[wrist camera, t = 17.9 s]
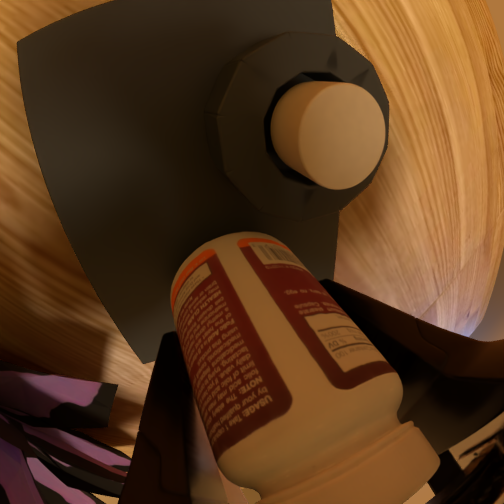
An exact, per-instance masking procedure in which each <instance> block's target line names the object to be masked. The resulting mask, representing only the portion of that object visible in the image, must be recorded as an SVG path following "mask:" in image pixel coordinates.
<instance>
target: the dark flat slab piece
mask: <svg viewBox="0 0 504 504" xmlns="http://www.w3.org/2000/svg"><path fill="white" fill-rule="evenodd" d="M17 53H18V65H19V74H20V81H21V88H22V94H23V100H24V106H25V111H26V115H27V120H28V124H29V129H30V133H31V137H32V141H33V144H34V148H35V151H36V155H37V158H38V162H39V165H40V168H41V171H42V174H43V177H44V180H45V183H46V186H47V189H48V191H49V194H50V197H51V199H52V202H53V204H54V207H55V209H56V212H57V214H58V217H59V219H60V222H61V224H62V226H63V228H64V231H65V233H66V235H67V237H68V239H69V242H70V244H71V246H72V248H73V250H74V252H75V254H76V256H77V258H78V260H79V262H80V264H81V266H82V268H83V270H84V272H85V274H86V275H87V277H88V279H89V281H90V283H91V285H92V286H93V288H94V290H95V292H96V293H97V295H98V297H99V299H100V300H101V302H102V304H103V305H104V307H105V309H106V310H107V312H108V313H109V315H110V317H111V318H112V320H113V321H114V323H115V324H116V326H117V327H118V329H119V330H120V332H121V333H122V335H123V336H124V338H125V339H126V341H127V342H128V344H129V345H130V347H131V348H132V349H133V351H134V352H135V354H136V355H137V356H138V358H139V359H140V360H141V362H142V363H143V364H146V363H149V362H153V361H155V360H156V357H157V353H158V350H159V346H160V343H161V339H162V336H163V334H164V333H167V332H171V331H176V328H175V323H174V318H173V313H172V309H171V301H170V294H171V287H172V283H173V280H174V278H175V276H176V273H177V272H178V270H179V268H180V266H181V265H182V264H183V262H184V261H185V260H186V259H187V258H188V257H189V256H190V255H191V254H192V253H193V252H194V251H195V250H196V249H197V248H199V247H200V246H202V245H203V244H204V243H206V242H209V241H211V240H213V239H216V238H218V237H221V236H224V235H227V234H232V233H239V232H260V233H263V234H267V235H270V236H272V237H274V238H276V239H277V240H279V241H280V242H282V243H283V244H285V245H286V246H287V247H288V248H289V249H290V250H291V251H292V253H293V254H294V255H295V256H296V257H297V258H298V259H299V260H300V262H301V263H302V264H303V265H304V266H305V267H306V268H307V270H308V271H309V272H310V273H311V274H312V275H313V276H314V277H315V278H316V279H317V281H320V280H322V279H325V278H327V279H330V280H332V281H333V278H334V269H335V259H336V249H337V237H338V223H339V211H340V210H342V209H343V208H344V207H345V206H347V205H348V204H349V203H350V202H351V201H352V200H353V199H354V198H355V197H356V196H358V195H359V194H360V193H361V192H362V191H363V190H364V189H365V188H366V187H367V186H369V184H371V182H372V180H373V178H374V176H375V174H376V172H377V170H378V167H379V165H380V163H381V161H382V159H383V156H384V154H385V152H386V150H387V147H388V146H387V145H388V133H389V101H388V99H387V96H386V94H385V91H384V89H383V87H382V84H381V82H380V80H379V77H378V75H377V73H376V71H375V68H374V66H373V65H372V63H371V62H370V61H368V60H367V59H366V58H365V57H364V56H362V55H361V54H360V53H359V52H357V51H356V50H355V49H354V48H352V47H351V46H350V45H348V44H347V43H346V42H345V41H343V40H342V39H340V38H339V37H337V36H336V33H335V24H334V17H333V9H332V2H331V0H114V1H110V2H107V3H104V4H101V5H98V6H95V7H92V8H89V9H86V10H83V11H81V12H78V13H75V14H73V15H70V16H68V17H66V18H63V19H61V20H59V21H56V22H54V23H52V24H50V25H48V26H46V27H44V28H42V29H40V30H38V31H36V32H34V33H32V34H30V35H28V36H26V37H25V38H23V39H21V40H19V41H18V42H17ZM308 81H325V82H343V83H351V84H355V85H357V86H359V87H362V88H363V89H365V90H366V91H367V92H368V93H370V94H371V95H372V96H373V98H374V99H375V100H376V102H377V103H378V105H379V107H380V109H381V111H382V114H383V117H384V122H385V143H384V148H383V151H382V154H381V157H380V159H379V161H378V163H377V165H376V166H375V168H374V169H373V171H372V172H371V173H370V174H369V175H368V176H367V177H366V178H365V179H364V180H363V181H362V182H360V183H359V184H357V185H355V186H353V187H350V188H347V189H341V190H333V189H328V188H325V187H322V186H320V185H319V184H317V183H315V182H314V181H312V180H310V179H309V178H307V177H305V176H304V175H302V174H300V173H299V172H297V171H295V170H293V169H292V168H290V167H289V166H287V165H286V164H285V163H284V162H283V161H282V160H281V159H280V157H279V156H278V154H277V153H276V151H275V149H274V146H273V143H272V139H271V129H270V126H271V118H272V114H273V111H274V109H275V106H276V104H277V103H278V101H279V100H280V98H281V97H282V96H283V95H284V94H285V93H286V92H287V91H288V90H289V89H290V88H292V87H294V86H295V85H297V84H300V83H303V82H308Z"/></svg>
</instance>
